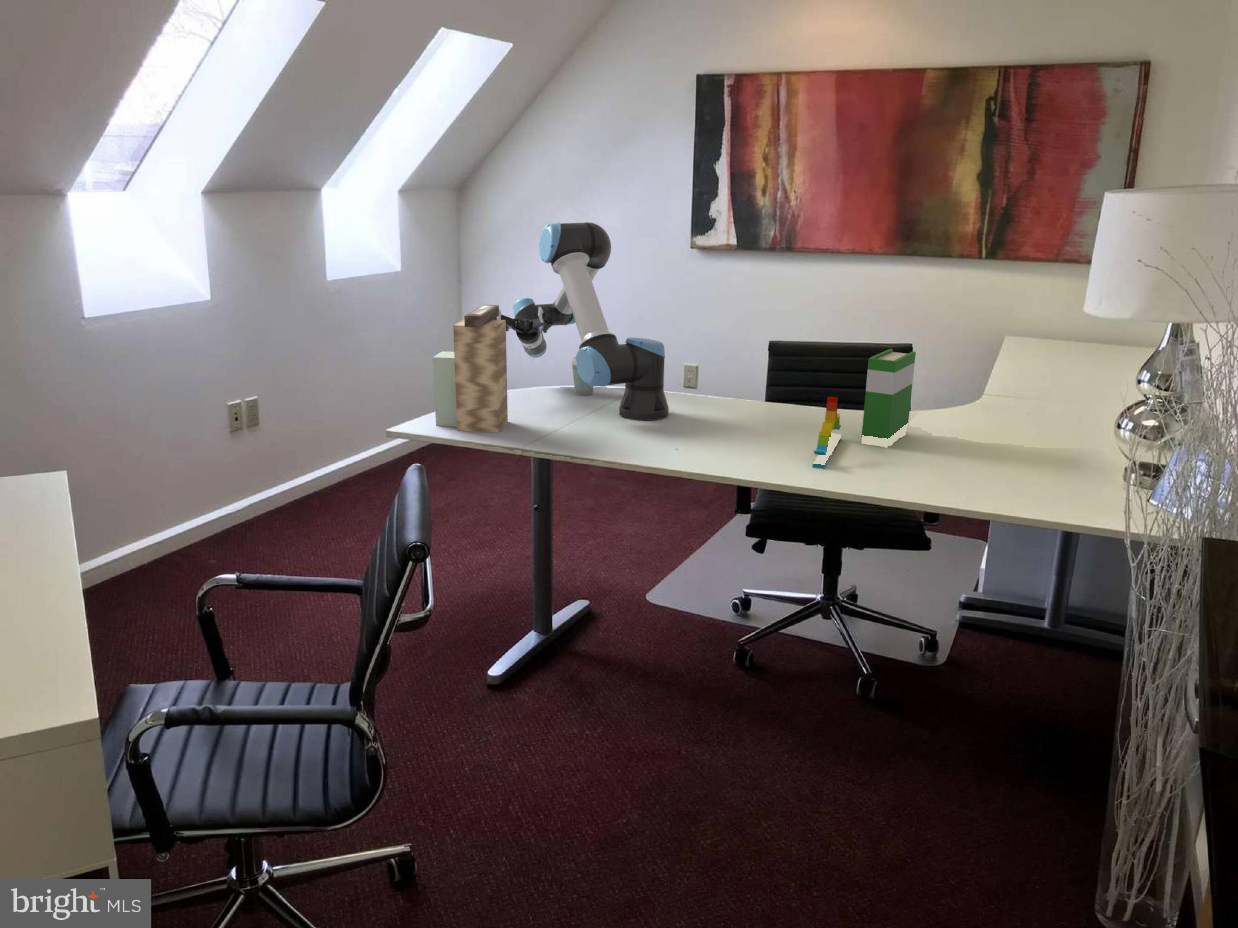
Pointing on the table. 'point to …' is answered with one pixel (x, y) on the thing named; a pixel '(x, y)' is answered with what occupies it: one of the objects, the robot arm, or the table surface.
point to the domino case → (481, 316)
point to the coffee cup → (580, 382)
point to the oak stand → (481, 376)
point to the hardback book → (888, 393)
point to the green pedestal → (445, 389)
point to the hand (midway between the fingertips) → (517, 309)
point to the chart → (827, 429)
